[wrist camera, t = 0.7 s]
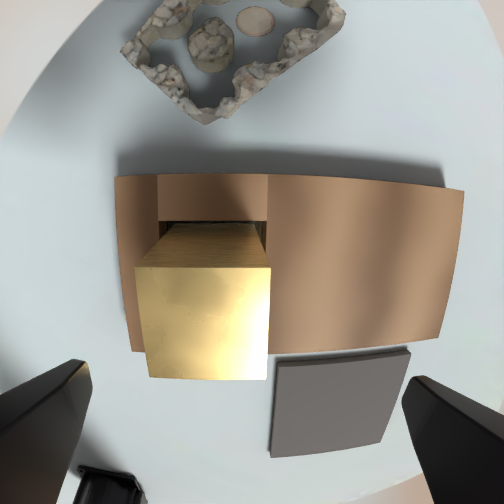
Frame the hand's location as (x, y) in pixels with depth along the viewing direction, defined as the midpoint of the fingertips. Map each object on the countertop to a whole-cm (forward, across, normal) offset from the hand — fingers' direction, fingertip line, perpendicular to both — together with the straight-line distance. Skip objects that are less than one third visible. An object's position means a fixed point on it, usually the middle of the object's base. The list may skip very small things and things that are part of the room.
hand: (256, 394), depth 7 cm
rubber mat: (+11, -8, +11) cm, 18 cm away
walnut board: (+11, -3, 0) cm, 12 cm away
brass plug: (+11, +2, 0) cm, 11 cm away
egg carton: (+12, +2, -13) cm, 18 cm away
